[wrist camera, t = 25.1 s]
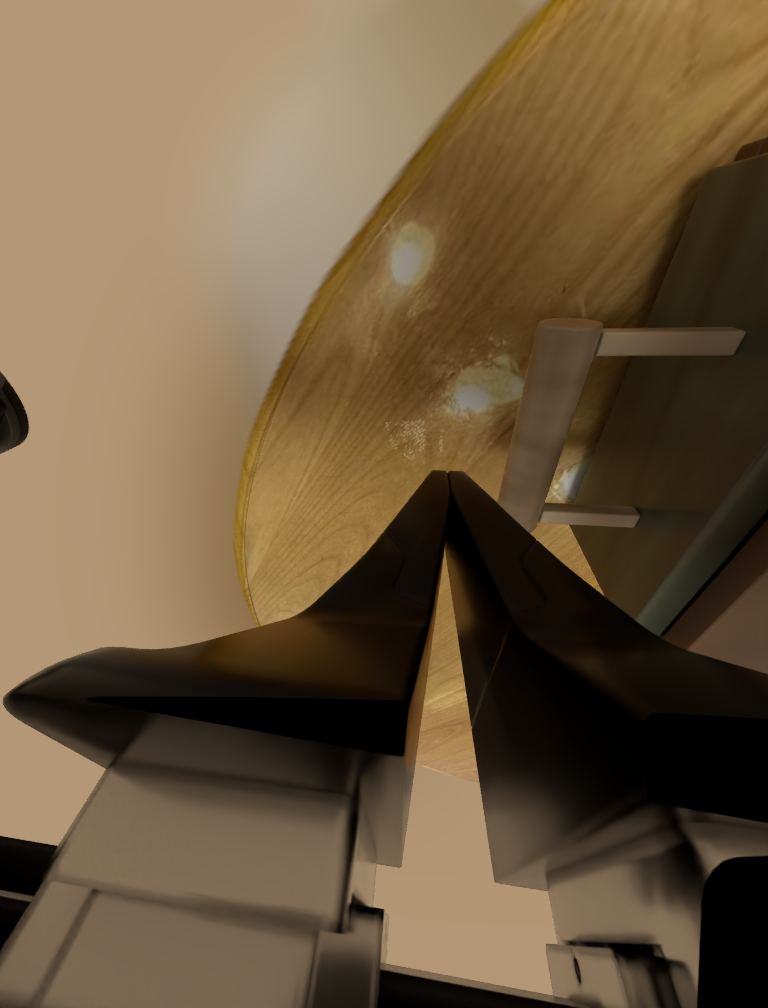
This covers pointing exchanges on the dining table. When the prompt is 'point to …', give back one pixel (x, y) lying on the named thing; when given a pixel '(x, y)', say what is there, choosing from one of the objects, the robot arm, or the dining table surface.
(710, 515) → the drawer
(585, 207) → the dining table surface
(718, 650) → the cabinet
